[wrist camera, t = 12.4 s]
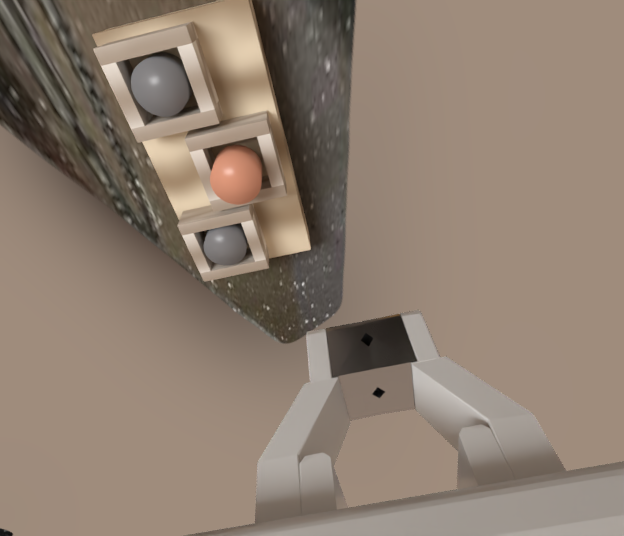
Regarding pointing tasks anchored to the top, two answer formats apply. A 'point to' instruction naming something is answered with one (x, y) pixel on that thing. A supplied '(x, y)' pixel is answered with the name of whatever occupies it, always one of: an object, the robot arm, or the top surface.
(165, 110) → the button
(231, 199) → the middle button
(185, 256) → the top surface
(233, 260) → the button
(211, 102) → the control panel
